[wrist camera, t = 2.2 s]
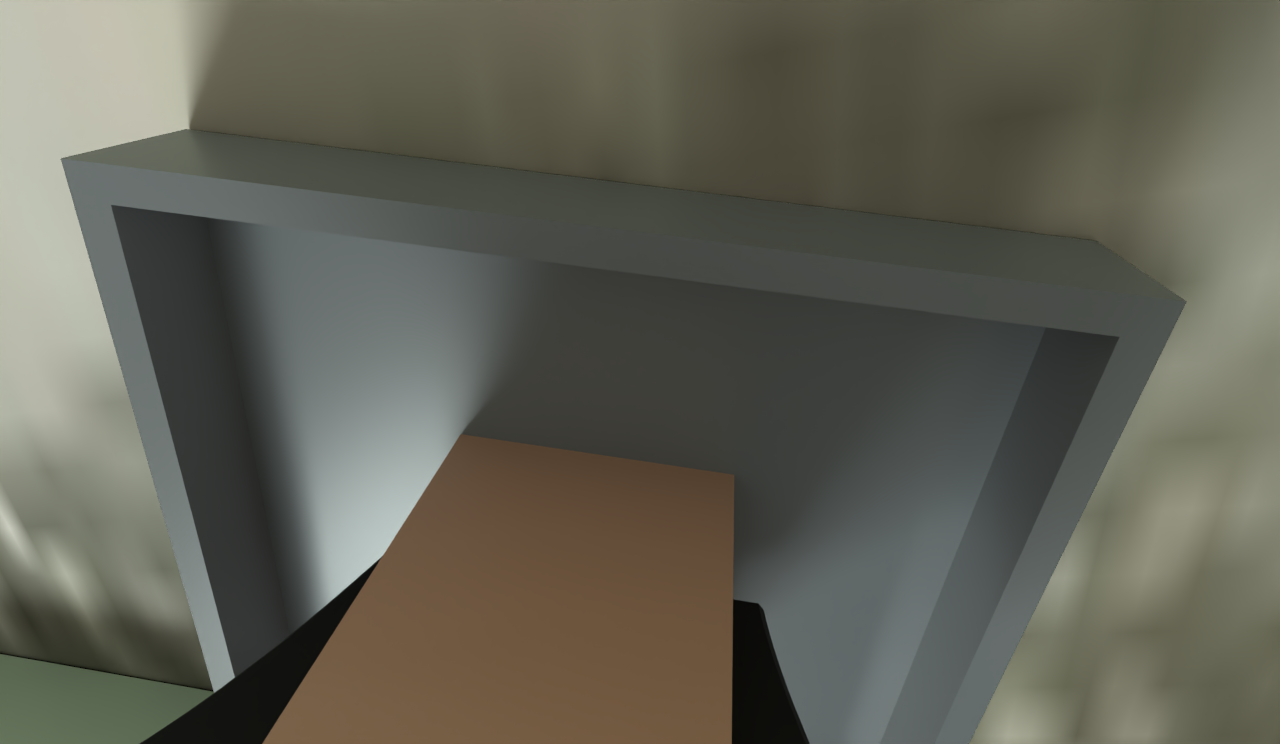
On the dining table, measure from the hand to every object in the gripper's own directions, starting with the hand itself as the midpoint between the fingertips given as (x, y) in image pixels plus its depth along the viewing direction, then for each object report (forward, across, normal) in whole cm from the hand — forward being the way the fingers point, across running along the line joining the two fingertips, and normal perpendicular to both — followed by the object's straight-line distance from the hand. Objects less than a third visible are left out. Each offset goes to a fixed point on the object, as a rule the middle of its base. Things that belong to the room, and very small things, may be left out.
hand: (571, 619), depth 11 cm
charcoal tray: (+2, 0, 0) cm, 2 cm away
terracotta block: (+1, 0, 0) cm, 1 cm away
